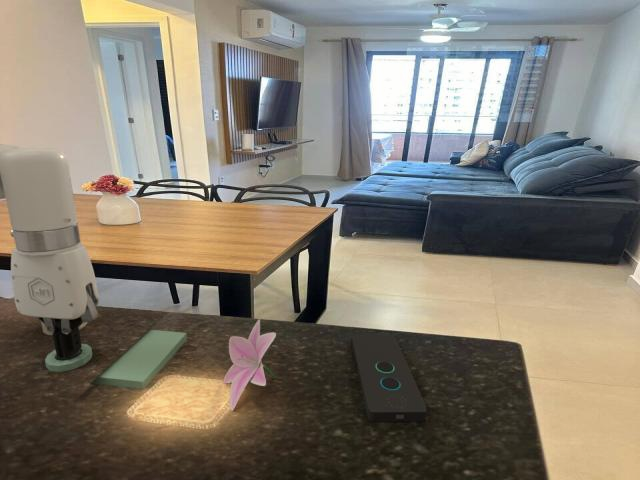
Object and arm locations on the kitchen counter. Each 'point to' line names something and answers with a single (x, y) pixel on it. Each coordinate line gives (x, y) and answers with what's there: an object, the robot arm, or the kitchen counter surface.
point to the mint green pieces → (129, 360)
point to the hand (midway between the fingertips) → (69, 352)
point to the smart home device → (386, 380)
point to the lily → (247, 362)
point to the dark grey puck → (70, 356)
